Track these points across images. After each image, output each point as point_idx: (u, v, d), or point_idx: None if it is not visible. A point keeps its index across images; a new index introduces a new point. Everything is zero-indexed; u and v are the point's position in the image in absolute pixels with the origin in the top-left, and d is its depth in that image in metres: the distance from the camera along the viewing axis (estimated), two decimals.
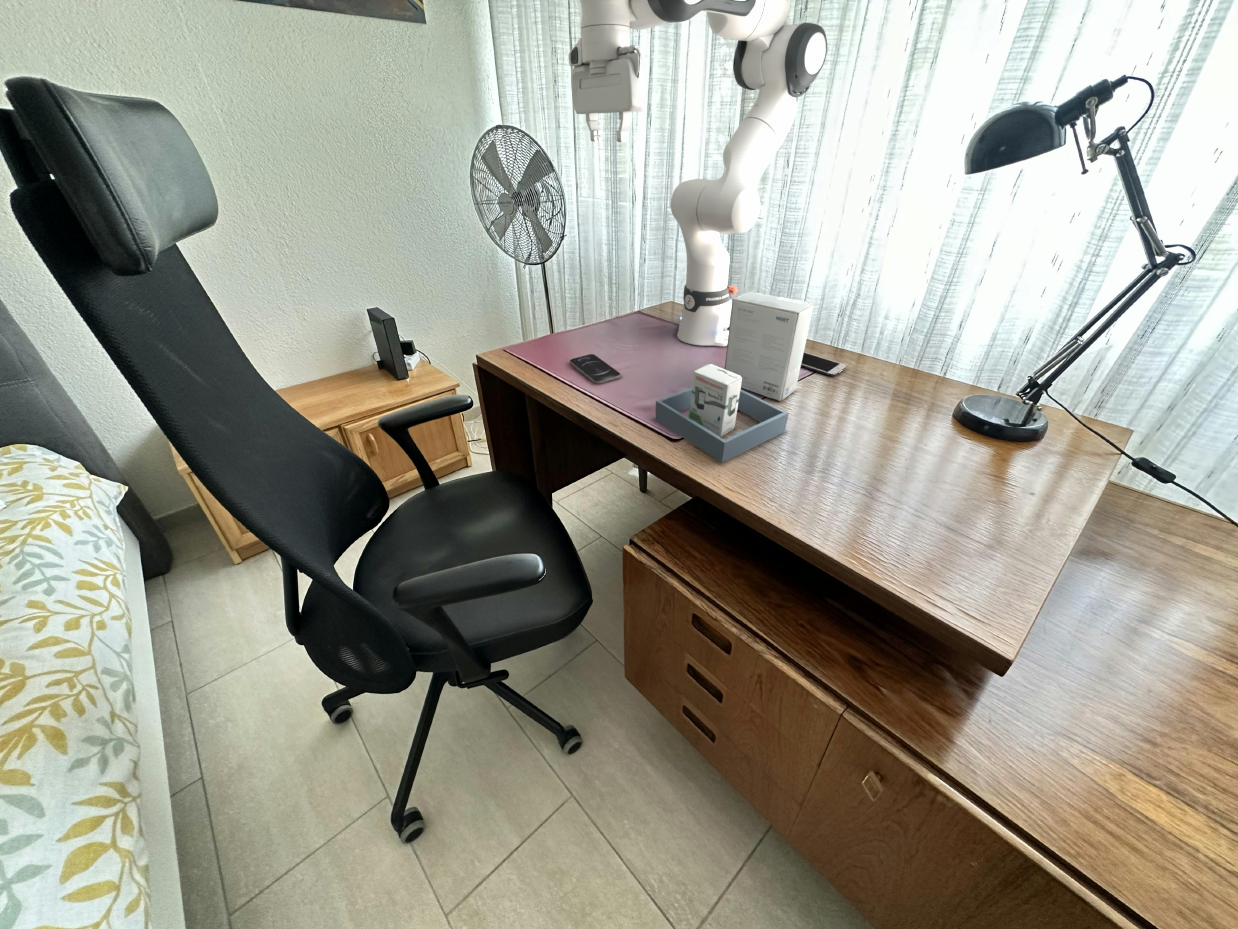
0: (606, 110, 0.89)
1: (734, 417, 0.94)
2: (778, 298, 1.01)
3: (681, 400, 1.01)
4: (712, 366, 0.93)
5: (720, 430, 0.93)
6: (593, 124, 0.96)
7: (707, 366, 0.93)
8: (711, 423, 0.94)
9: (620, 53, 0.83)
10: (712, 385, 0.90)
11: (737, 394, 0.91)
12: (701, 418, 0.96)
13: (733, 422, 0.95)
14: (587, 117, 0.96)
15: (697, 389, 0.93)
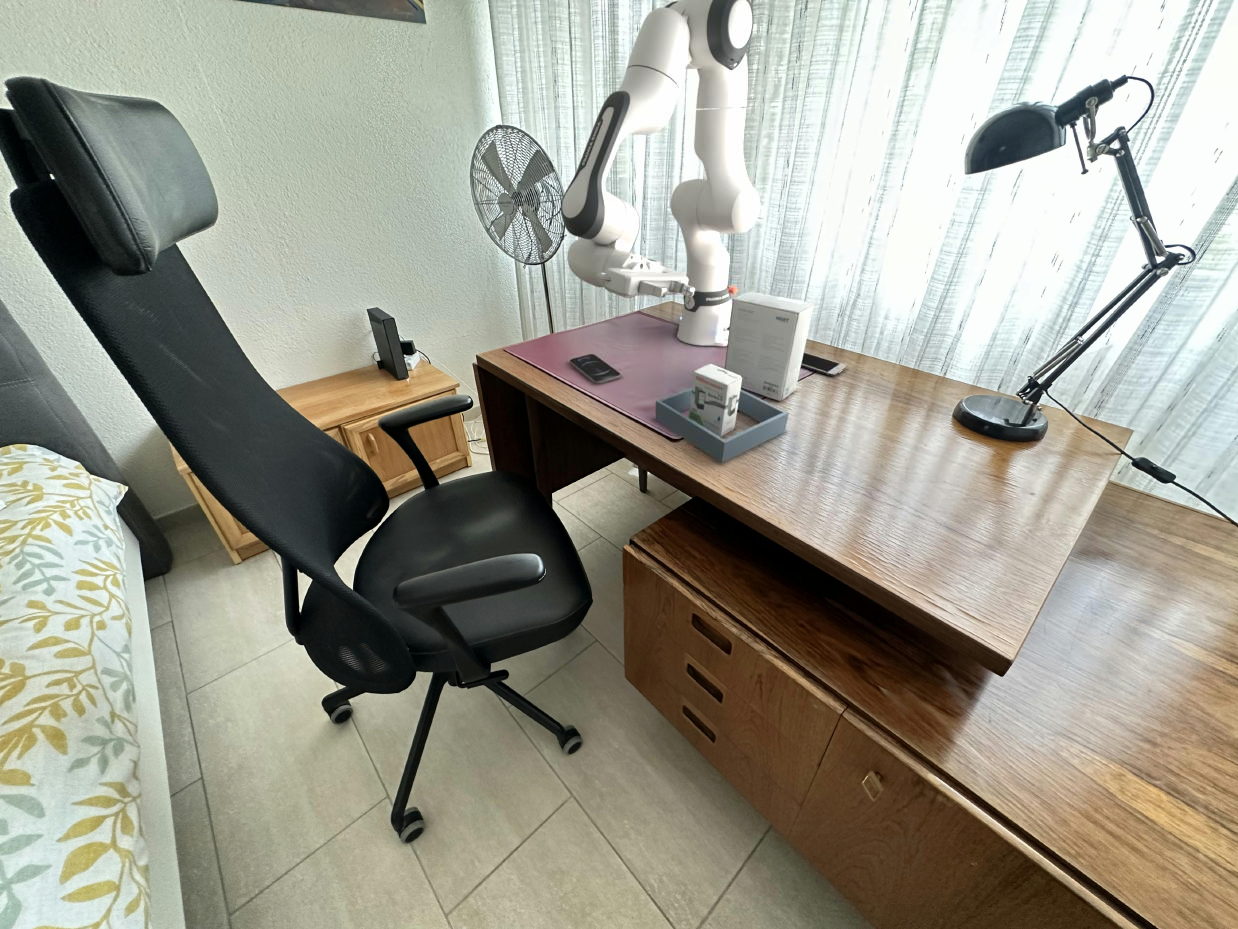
0: None
1: (734, 417, 0.94)
2: (778, 298, 1.01)
3: (681, 400, 1.01)
4: (712, 366, 0.93)
5: (720, 430, 0.93)
6: (683, 288, 0.97)
7: (707, 366, 0.93)
8: (711, 423, 0.94)
9: None
10: (712, 385, 0.90)
11: (737, 394, 0.91)
12: (701, 418, 0.96)
13: (733, 422, 0.95)
14: None
15: (697, 389, 0.93)
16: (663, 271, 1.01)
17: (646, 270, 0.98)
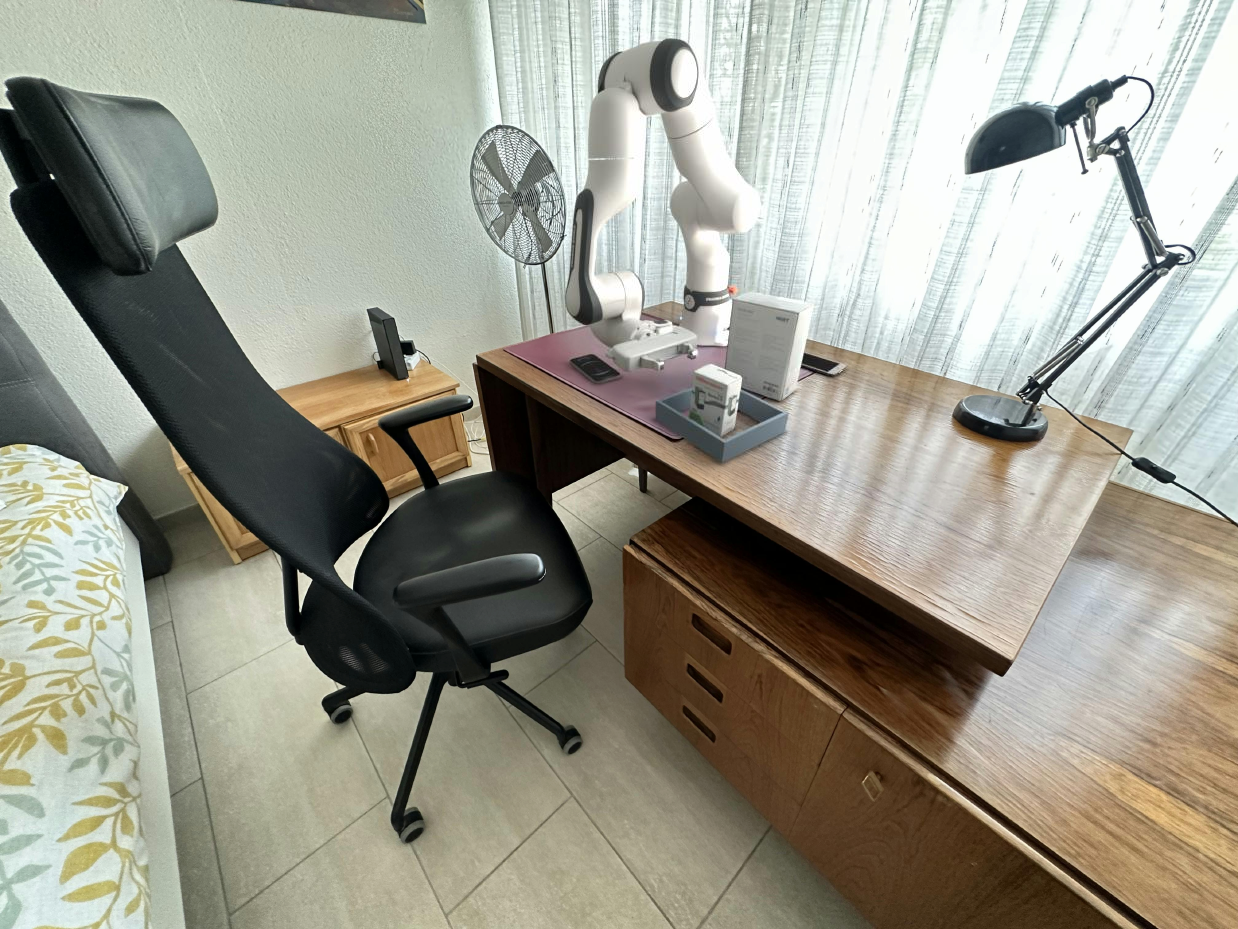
0: None
1: (734, 417, 0.94)
2: (778, 298, 1.01)
3: (681, 400, 1.01)
4: (712, 366, 0.93)
5: (720, 430, 0.93)
6: None
7: (707, 366, 0.93)
8: (711, 423, 0.94)
9: None
10: (712, 385, 0.90)
11: (737, 394, 0.91)
12: (701, 418, 0.96)
13: (733, 422, 0.95)
14: None
15: (697, 389, 0.93)
16: (673, 332, 1.07)
17: (654, 336, 1.05)
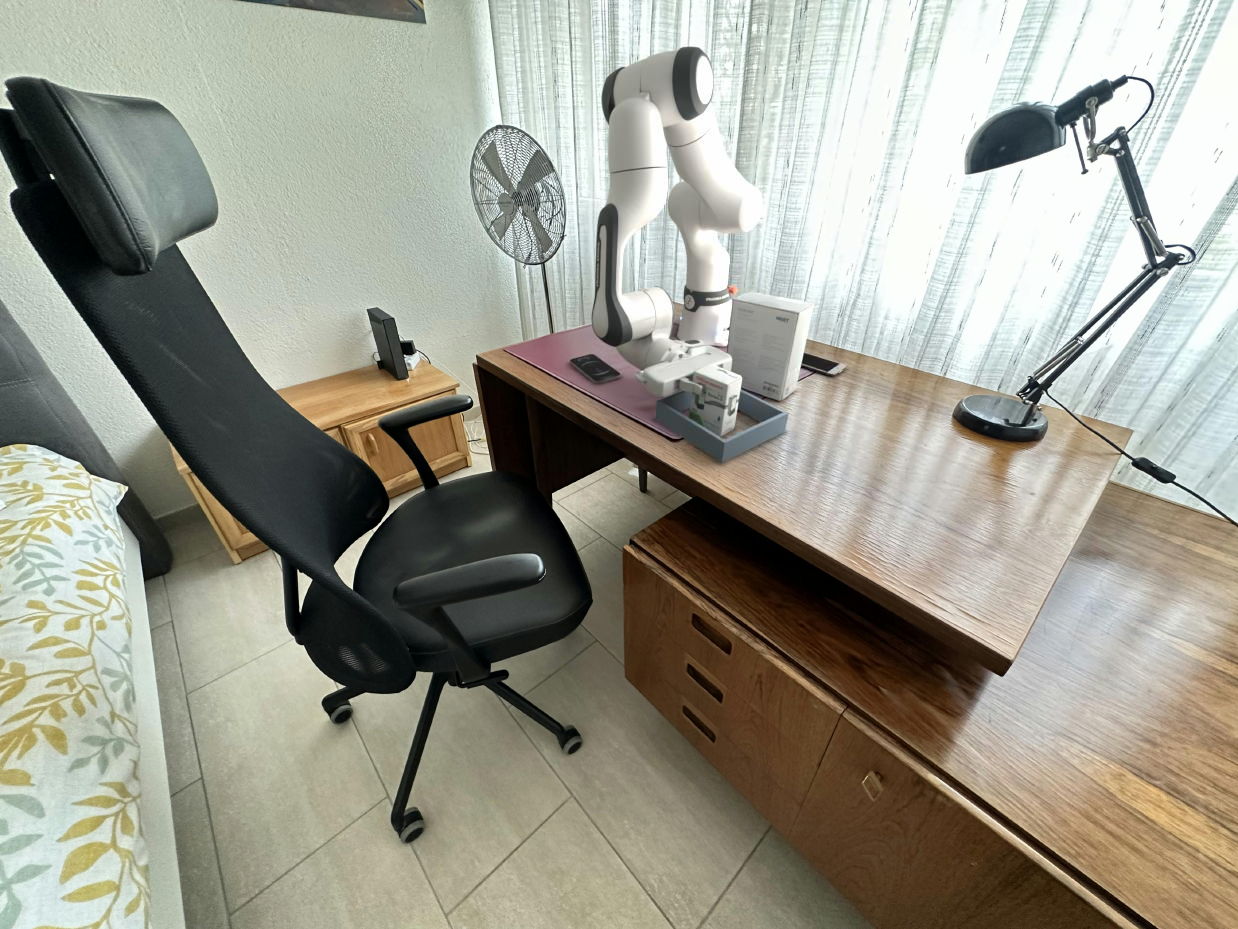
0: None
1: (734, 417, 0.94)
2: (778, 298, 1.01)
3: (681, 400, 1.01)
4: (712, 366, 0.93)
5: (719, 430, 0.93)
6: None
7: (707, 366, 0.93)
8: (711, 423, 0.94)
9: None
10: (712, 385, 0.90)
11: (737, 394, 0.91)
12: (701, 418, 0.96)
13: (733, 422, 0.95)
14: None
15: None
16: (706, 352, 1.01)
17: (686, 358, 0.99)
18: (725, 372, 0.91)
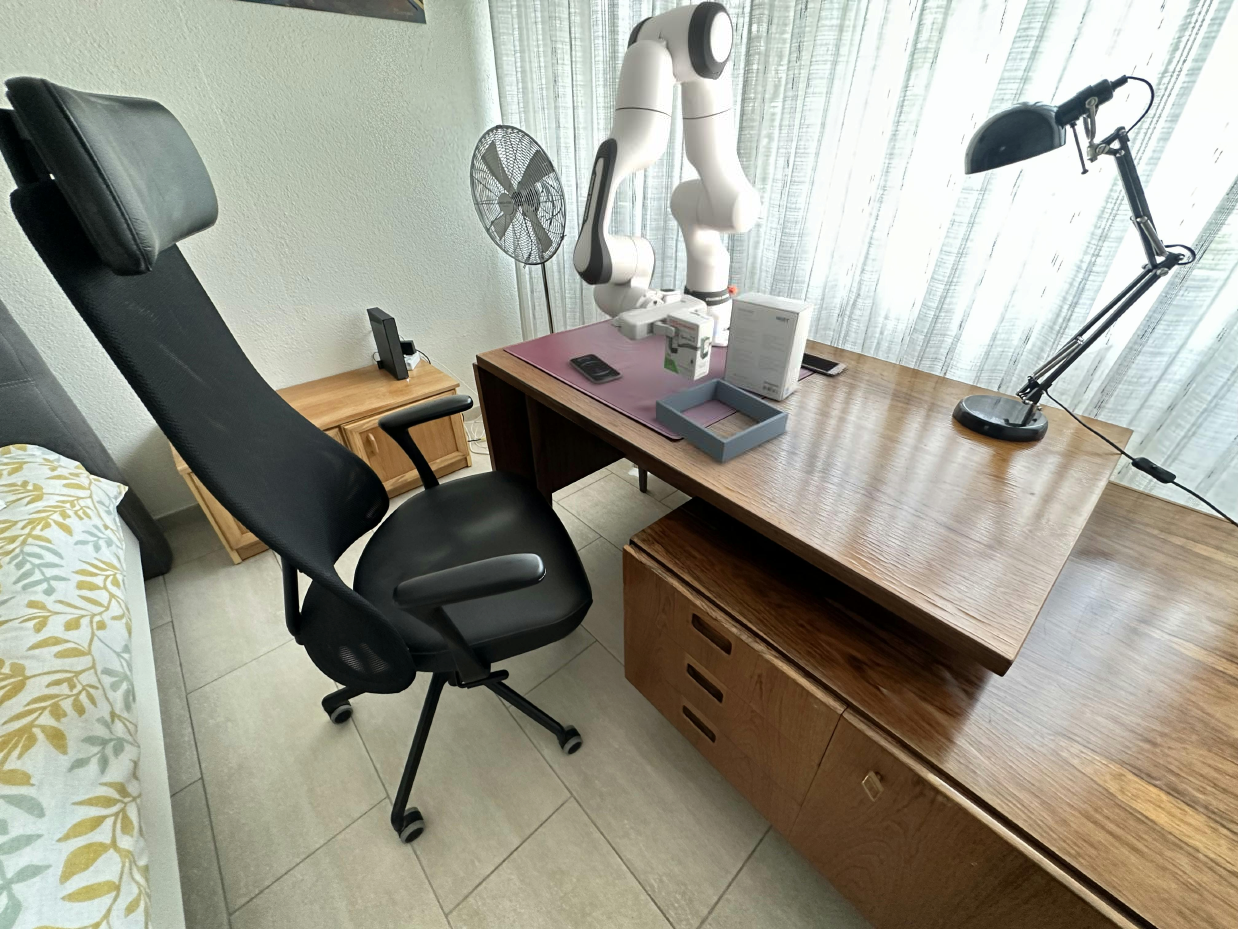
0: None
1: (708, 361, 0.95)
2: (778, 298, 1.01)
3: (681, 400, 1.01)
4: (685, 310, 0.94)
5: (693, 373, 0.94)
6: None
7: (680, 310, 0.94)
8: (685, 367, 0.95)
9: None
10: (685, 326, 0.91)
11: (709, 336, 0.92)
12: (675, 363, 0.96)
13: (706, 366, 0.96)
14: None
15: None
16: (681, 300, 1.02)
17: (661, 304, 1.00)
18: (698, 314, 0.92)
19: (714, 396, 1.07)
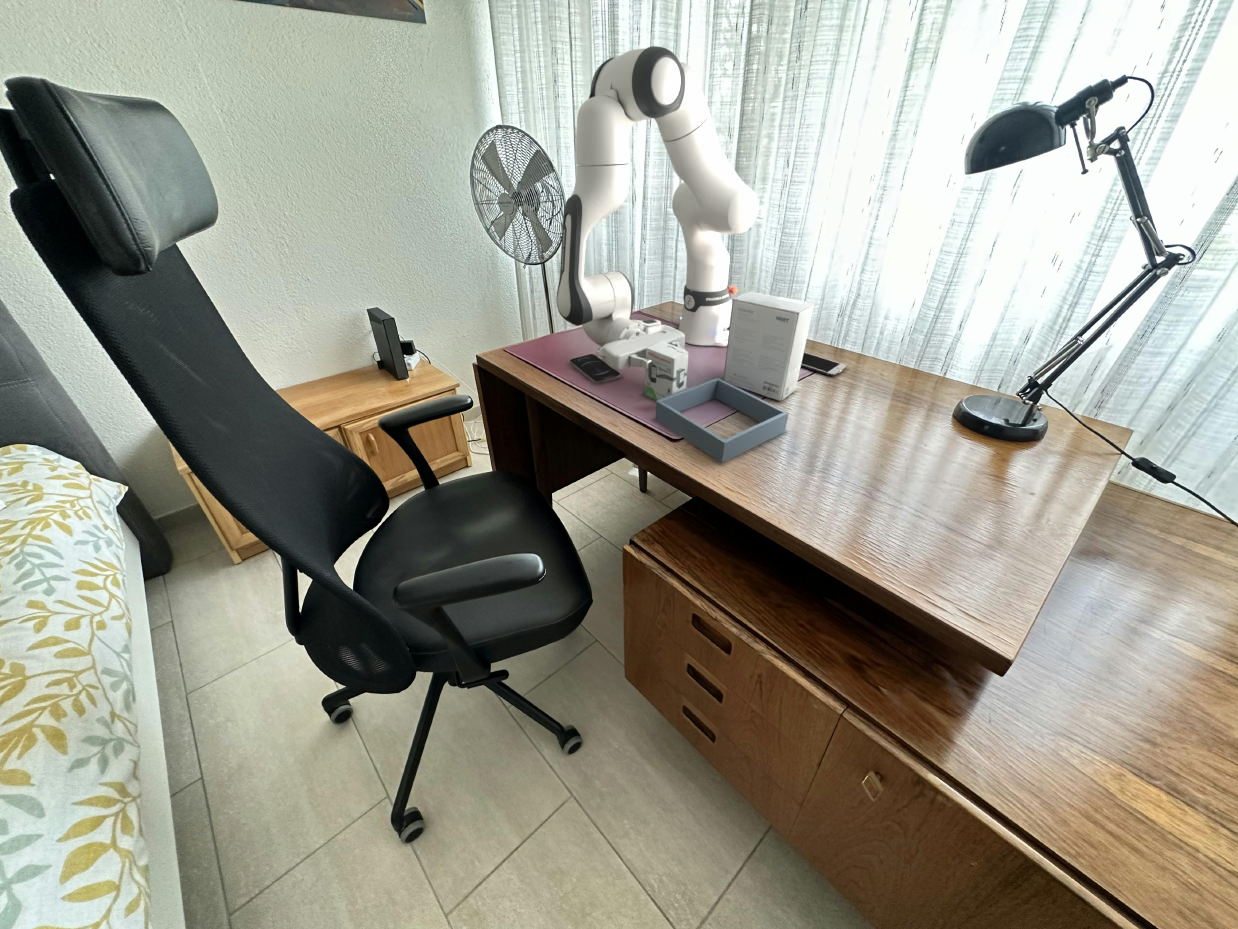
0: None
1: None
2: (778, 298, 1.01)
3: (681, 400, 1.01)
4: (663, 343, 1.03)
5: None
6: None
7: (659, 343, 1.03)
8: (663, 395, 1.04)
9: None
10: (662, 359, 1.00)
11: (685, 368, 1.01)
12: (654, 391, 1.06)
13: None
14: None
15: None
16: (662, 331, 1.11)
17: (643, 335, 1.09)
18: (674, 348, 1.01)
19: (714, 396, 1.07)
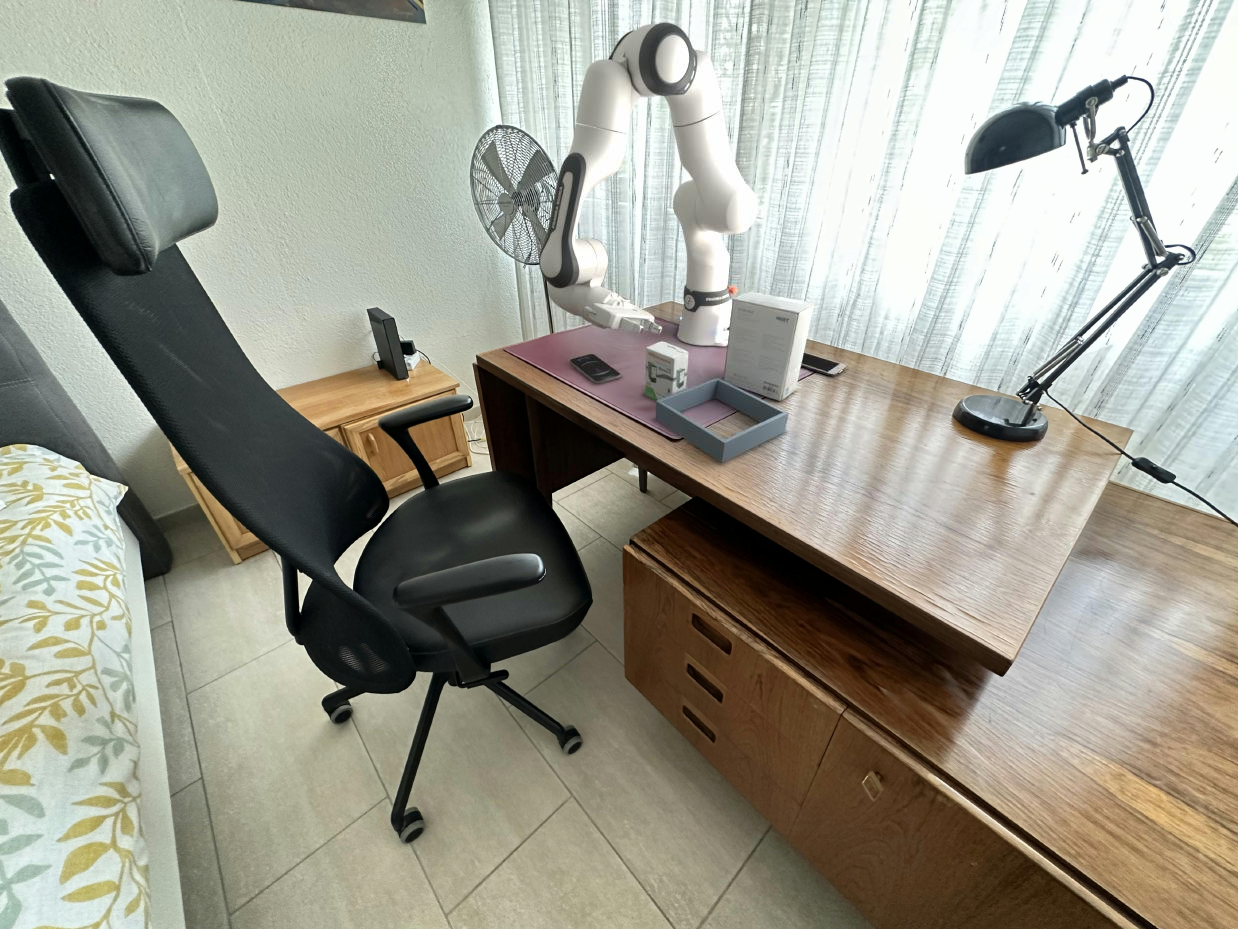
0: None
1: None
2: (778, 298, 1.01)
3: (681, 400, 1.01)
4: (663, 343, 1.03)
5: None
6: (651, 326, 1.15)
7: (659, 343, 1.03)
8: (663, 395, 1.04)
9: None
10: (662, 359, 1.00)
11: (685, 368, 1.01)
12: (654, 391, 1.06)
13: None
14: None
15: (650, 364, 1.03)
16: (633, 309, 1.18)
17: (621, 307, 1.14)
18: (674, 348, 1.01)
19: (714, 396, 1.07)
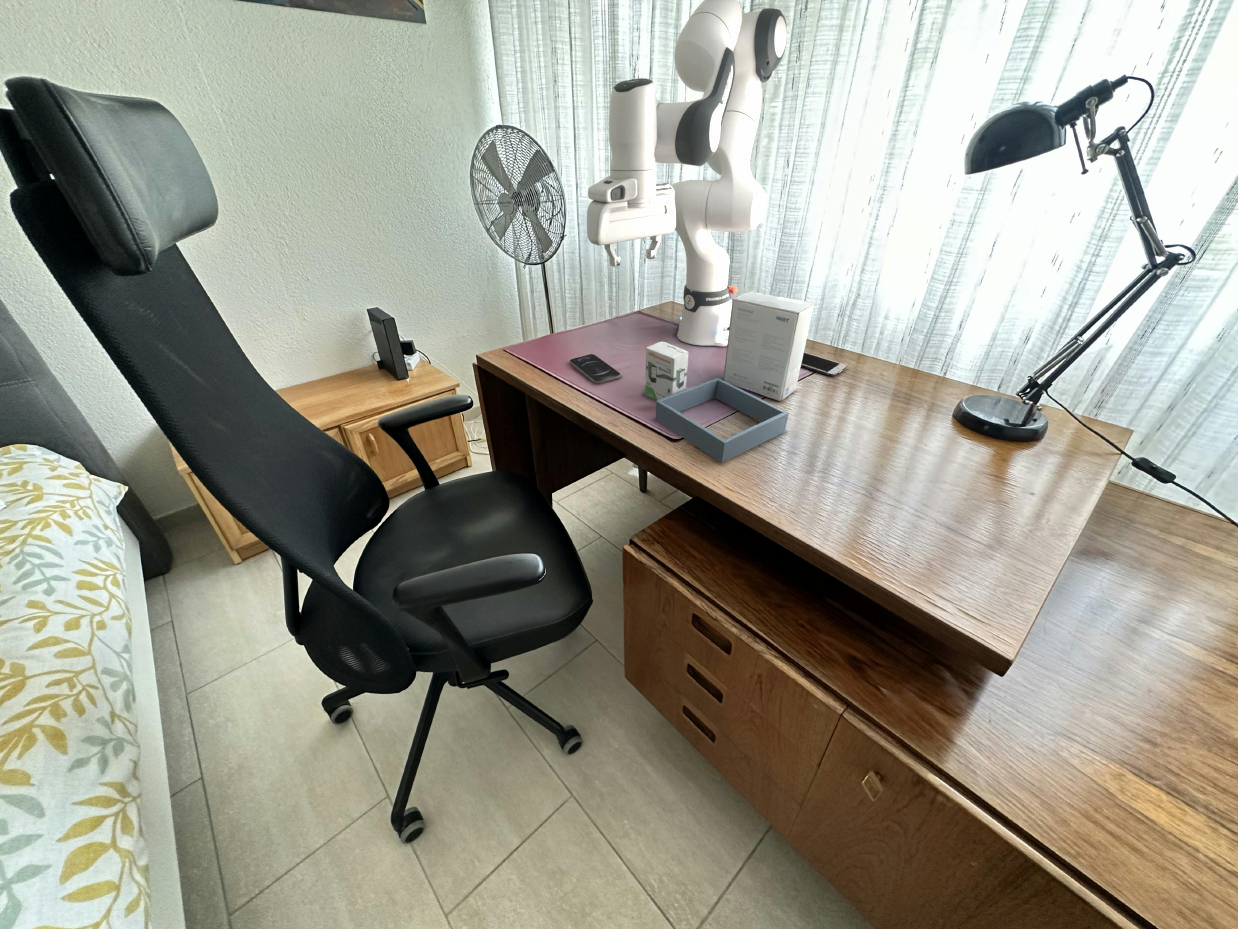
0: (647, 236, 0.97)
1: None
2: (778, 298, 1.01)
3: (681, 400, 1.01)
4: (663, 343, 1.03)
5: None
6: None
7: (659, 343, 1.03)
8: (663, 395, 1.04)
9: (655, 189, 0.94)
10: (662, 359, 1.00)
11: (685, 368, 1.01)
12: (654, 391, 1.06)
13: None
14: (611, 246, 0.94)
15: (650, 364, 1.03)
16: None
17: None
18: (674, 348, 1.01)
19: (714, 396, 1.07)
